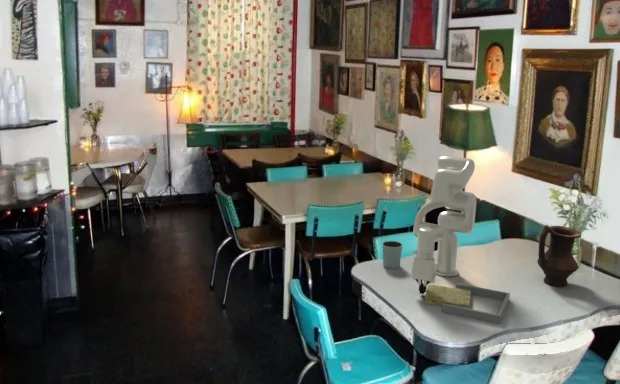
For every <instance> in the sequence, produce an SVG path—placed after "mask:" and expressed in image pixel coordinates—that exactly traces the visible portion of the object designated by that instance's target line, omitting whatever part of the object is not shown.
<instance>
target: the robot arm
mask: <svg viewBox="0 0 620 384" xmlns="http://www.w3.org/2000/svg"><path fill="white" fill-rule="evenodd" d="M437 167H438V170H436V172H435V174H434V178H433V182H432V187H431V192H430V197H429V199H428V201H427V202H426V203H425V204H423V205H422V206H421V207H420V209H419V210H418V212H417V214H416V216H415V219H414V224H413V231H412V232H413V233H412V234H413V236H415V237H416V238H417V244H416V250H413V254H414V255H415V256H414V258H413V260H412V261H413V262H412V265H411V266H412V268H411V280H413V281H416V283H417V285H418V291H419V294H422V295H424V294H426V291H427V286H428V285H430V284H435V282H436V275H438V276H442V277H455V276H457V275H458V274H459V269H458V268H456V267H457V256H458V255H457V254H458V244H459V239H458V235H457V234H456V233H460V234H467V235H468V234H471V233H472V232H473V230H474V228H475V222H476V212H477V197H476V195H475V194H474V192H469V191H464V190H463V189H465V188H466V186H467V185H468V183H469V182H470V179H471V178H472V176H473V174H474V172H475V169H476V167H475V162H474V160H473V159H471V158H465V157H458V156H451V155H443V156H440V157H438V158H437ZM443 207H444V208H446V209H447V210H445V211H442V212H440V213H439V215H438V217H437V223H436V224H435V223H430V222H425V221H423V220H424V218H425V216H426V215H427V214H428V213H430V212H431V211H432V210H434V209H439V208H443ZM450 210H454V211H450ZM455 210H456V211H455ZM457 211H460V212H457ZM461 211H462V212H461ZM463 212H464V213H463ZM435 243H437V253H436V258H435V257H434V256H435V255H434V253H435Z"/></svg>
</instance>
